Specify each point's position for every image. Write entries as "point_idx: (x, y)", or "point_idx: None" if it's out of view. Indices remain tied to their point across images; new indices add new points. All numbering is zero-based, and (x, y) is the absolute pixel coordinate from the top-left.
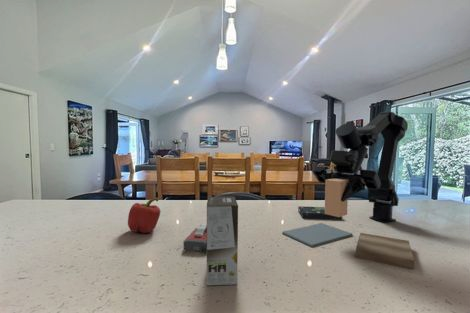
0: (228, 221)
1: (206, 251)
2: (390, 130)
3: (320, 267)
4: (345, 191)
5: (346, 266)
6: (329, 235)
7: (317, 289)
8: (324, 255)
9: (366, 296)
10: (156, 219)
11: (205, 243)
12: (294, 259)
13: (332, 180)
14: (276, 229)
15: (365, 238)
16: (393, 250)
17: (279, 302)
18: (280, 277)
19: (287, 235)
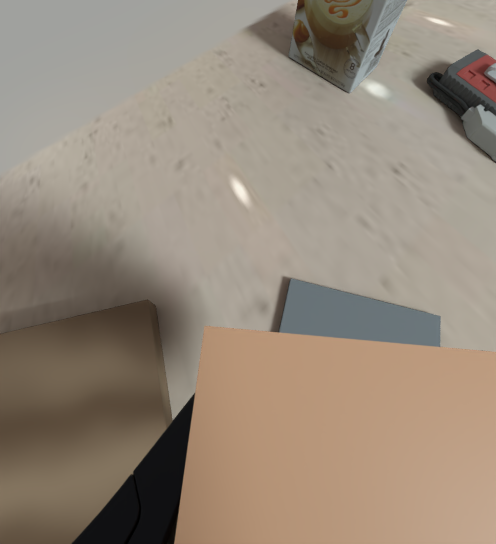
0: None
1: (434, 94)
2: None
3: (209, 188)
4: (182, 444)
5: (160, 233)
6: None
7: (177, 117)
8: (231, 254)
9: (96, 148)
10: None
11: (447, 72)
12: (276, 183)
13: (388, 363)
14: (485, 343)
15: (140, 455)
16: (27, 390)
17: (208, 62)
18: (250, 109)
19: (406, 309)
